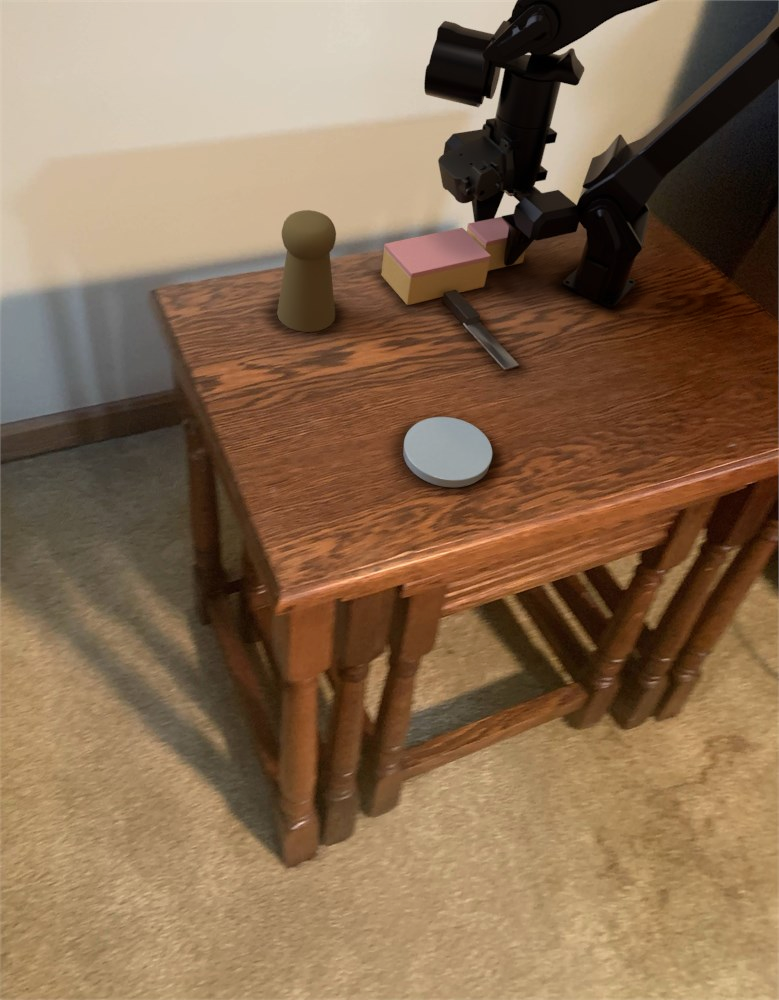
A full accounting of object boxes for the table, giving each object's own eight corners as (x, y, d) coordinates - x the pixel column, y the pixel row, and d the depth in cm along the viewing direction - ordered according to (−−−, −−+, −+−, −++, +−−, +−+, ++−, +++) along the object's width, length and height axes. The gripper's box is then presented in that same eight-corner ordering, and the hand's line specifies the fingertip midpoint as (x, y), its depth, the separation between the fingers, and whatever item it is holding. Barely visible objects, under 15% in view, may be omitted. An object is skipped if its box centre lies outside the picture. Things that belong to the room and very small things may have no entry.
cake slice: (462, 254, 98) (467, 223, 95) (504, 244, 100) (511, 214, 97) (480, 273, 96) (486, 241, 93) (523, 262, 98) (530, 232, 95)
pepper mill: (269, 301, 88) (268, 205, 80) (323, 293, 90) (328, 198, 82) (288, 336, 85) (289, 239, 76) (343, 326, 87) (350, 230, 78)
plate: (434, 412, 79) (435, 404, 79) (506, 452, 77) (508, 444, 76) (385, 458, 75) (386, 450, 74) (460, 502, 72) (462, 494, 71)
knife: (455, 298, 92) (456, 288, 91) (518, 367, 85) (521, 357, 84) (441, 301, 91) (442, 292, 90) (504, 371, 84) (506, 361, 84)
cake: (380, 275, 93) (384, 243, 90) (456, 258, 97) (462, 227, 94) (407, 305, 90) (411, 273, 87) (484, 286, 94) (491, 255, 91)
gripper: (411, 86, 88) (395, 222, 99) (509, 171, 77) (479, 311, 89) (499, 75, 92) (474, 206, 103) (603, 154, 82) (562, 290, 93)
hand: (494, 251), depth 97 cm, fingers open, 6 cm apart
